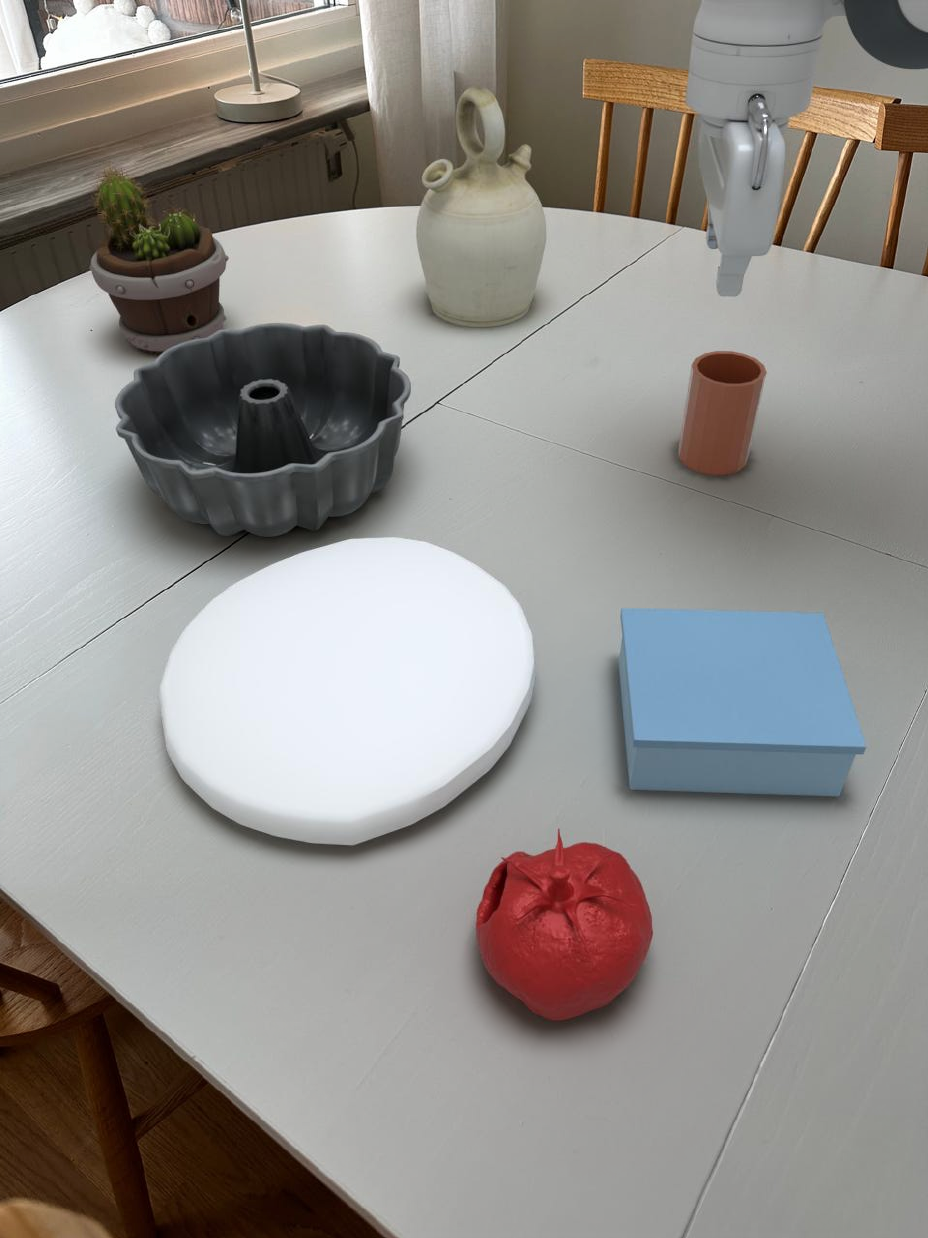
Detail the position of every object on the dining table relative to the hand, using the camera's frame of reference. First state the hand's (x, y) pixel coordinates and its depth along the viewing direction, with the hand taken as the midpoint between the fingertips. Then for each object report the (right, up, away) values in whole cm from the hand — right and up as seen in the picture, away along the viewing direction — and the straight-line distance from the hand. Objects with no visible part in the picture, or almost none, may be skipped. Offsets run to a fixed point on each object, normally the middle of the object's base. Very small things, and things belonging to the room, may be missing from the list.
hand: (721, 268), depth 79 cm
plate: (-29, -35, -6) cm, 46 cm away
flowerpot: (-55, +5, +37) cm, 67 cm away
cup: (+3, -13, +17) cm, 21 cm away
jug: (-19, +10, +42) cm, 47 cm away
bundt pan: (-39, -15, +15) cm, 44 cm away
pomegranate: (-15, -49, -21) cm, 55 cm away
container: (-2, -36, -9) cm, 38 cm away
